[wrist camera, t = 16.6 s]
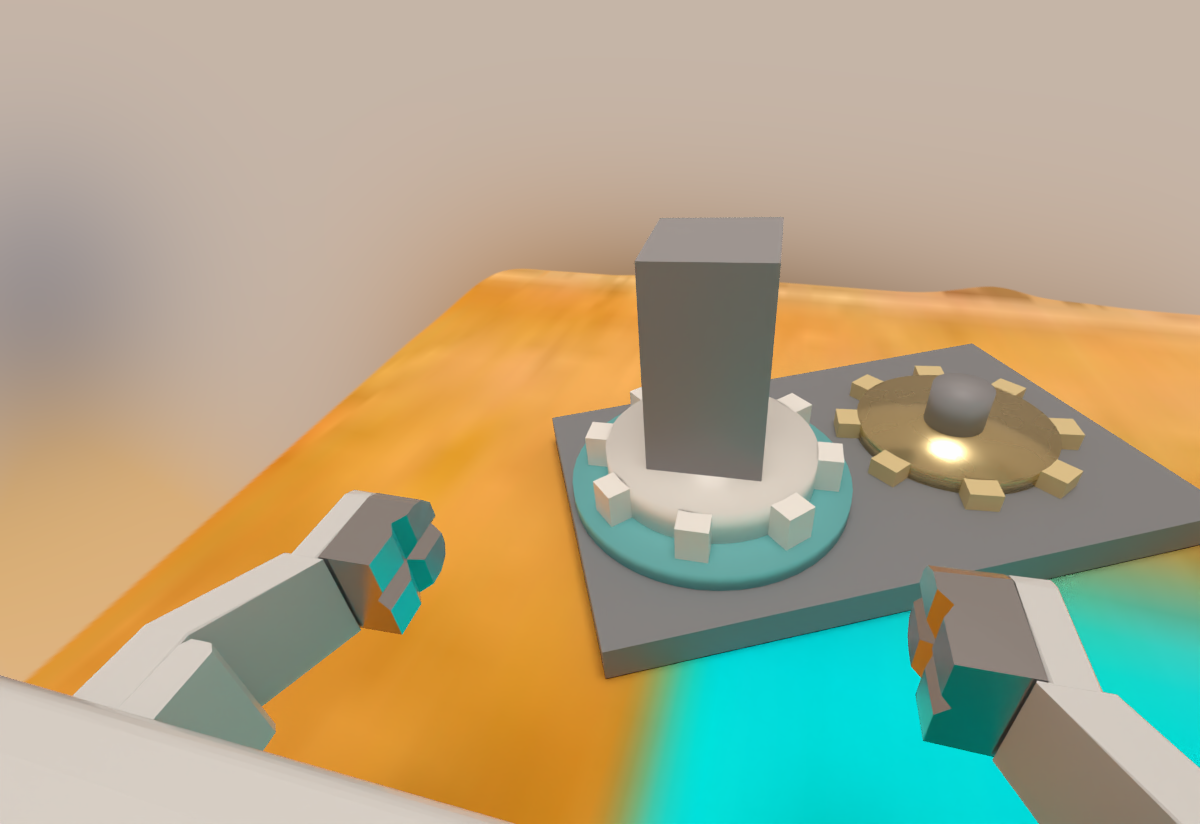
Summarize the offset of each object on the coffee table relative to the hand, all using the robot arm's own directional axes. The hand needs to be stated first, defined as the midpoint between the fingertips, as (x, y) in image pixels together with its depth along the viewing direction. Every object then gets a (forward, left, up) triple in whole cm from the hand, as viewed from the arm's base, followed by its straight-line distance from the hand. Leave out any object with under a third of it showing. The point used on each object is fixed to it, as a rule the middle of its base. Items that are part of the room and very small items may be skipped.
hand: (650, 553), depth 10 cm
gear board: (-11, -12, -11) cm, 20 cm away
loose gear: (-5, -12, -9) cm, 16 cm away
